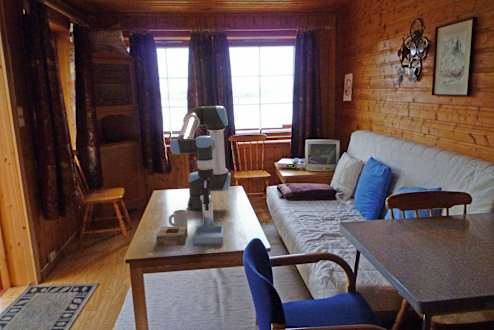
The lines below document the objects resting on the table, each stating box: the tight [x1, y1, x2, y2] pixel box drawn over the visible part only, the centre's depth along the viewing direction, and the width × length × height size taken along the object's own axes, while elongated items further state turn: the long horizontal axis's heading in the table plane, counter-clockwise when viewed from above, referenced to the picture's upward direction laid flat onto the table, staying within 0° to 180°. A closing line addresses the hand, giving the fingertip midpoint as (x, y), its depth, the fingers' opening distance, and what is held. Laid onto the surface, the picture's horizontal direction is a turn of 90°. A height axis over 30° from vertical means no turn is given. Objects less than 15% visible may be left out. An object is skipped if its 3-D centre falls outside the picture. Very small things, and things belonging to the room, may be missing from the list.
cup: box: [168, 209, 189, 228], centre depth 197 cm, size 7×10×9 cm
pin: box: [200, 193, 215, 228], centre depth 178 cm, size 6×6×15 cm
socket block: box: [156, 225, 189, 247], centre depth 180 cm, size 13×13×5 cm
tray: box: [192, 224, 225, 247], centre depth 180 cm, size 16×14×4 cm
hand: (207, 214), depth 178 cm, fingers closed on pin, 5 cm apart
